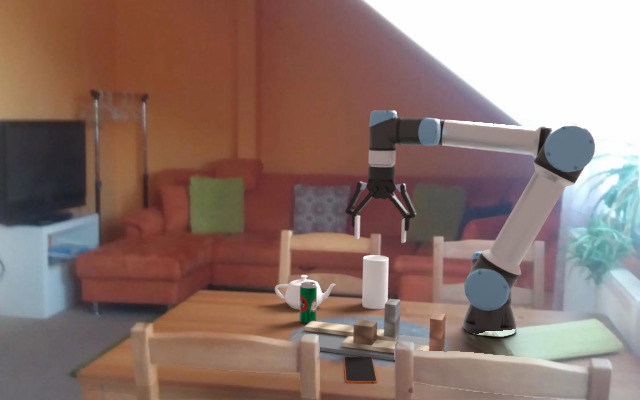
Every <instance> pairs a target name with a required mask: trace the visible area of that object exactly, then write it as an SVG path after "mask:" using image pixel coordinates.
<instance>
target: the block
mask: <svg viewBox="0 0 640 400" xmlns="http://www.w3.org/2000/svg"><path fill="white" fill-rule="evenodd" d="M353 326H354V336H353V343H356V344H363V345H371V346H372V345H373V344H374V342H375V341H376V340H377V329H378V321H375V320H369V319H367V320H365V319H358V320H357V321H356V322H355V323H354V324H353Z"/></svg>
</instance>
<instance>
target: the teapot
mask: <svg viewBox="0 0 640 400" xmlns="http://www.w3.org/2000/svg"><path fill="white" fill-rule="evenodd" d="M300 278H301V279H295V280H292V281H290V282H289V283H283V284H282V283H281V284H277V285H276V286H274V292H275V294H276V295H277V296H278V297H279V298H281V299H283V300H285V303H286V304H287V305H288V306H289V307H290V308H291V309H294V310H299V311H300V286H301V283H302V282H306V281H310V282H315V283H316V286H317V308H318V306H319V305H321V304H322V303H323V301H324V300H326V299H327V298H328V297H329V296H330V295H331V292H332V290H333V288H334V287H335V286H336V285H337V284H336V283H331V284H329V286H328V288H327V289H326V291H325V292H322V289H321V286H320V284H319V282H318V281H316V280H313V279H307V278H308V275H307V274H301V275H300ZM279 288H286V291H285V294H282V293H281V292H280V290H279Z"/></svg>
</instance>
